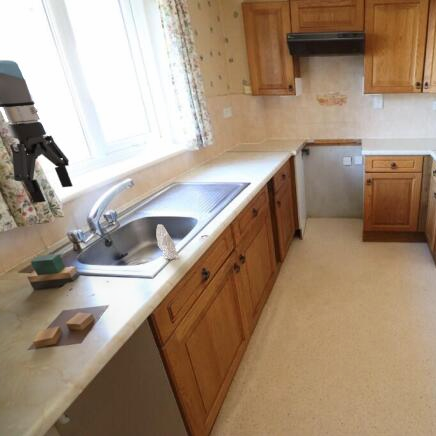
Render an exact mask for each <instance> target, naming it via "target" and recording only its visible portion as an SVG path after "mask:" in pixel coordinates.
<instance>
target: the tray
mask: <svg viewBox="0 0 436 436" xmlns="http://www.w3.org/2000/svg"><path fill="white" fill-rule="evenodd" d="M109 306H110V305H109V304H106V305H105V304H104V305H96V306H89V307H80V308H70V309H63V310H62V311H61V312H60V313H59V314H58V315H57V316H56V317H55V318H54V320H53V321H51V323H50V324H49V325H48V326H47V327H46V328H45V329H49V328H54V327H58V326H60V328H61V330H62V334H61V336H60V337H59V339H58V341H57V342H56V344H52V345H48V346H44V347H39V348H36V347H35V345H34V344H33V343H32V344H31V345H30V346H29V347H28V348H27V349H26V350H27V351H31V350H39V349H46V348H54V347H63V346H71V345H77V344H78V345H79V344H83V342H84V340H85V339H86V338H87V336H88V335H89V334H90V333H91V331H92V329H93V328H94V327H95V326H96V324H97V322H99V320H100V318H101V317H102V316H103V315H104V313H105V312H106V310H107V309H108V308H109ZM77 313H92V314H93V317H94V320H93V321H92V322H91V323H90V324H89V325H88V326H87V327H86V328H85V329H83V330H70V329H68V327H67V325H66V323H67V322H68V321H69V320H70V319H71V318H73V317H74V316H75V315H76V314H77Z"/></svg>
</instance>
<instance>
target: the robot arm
mask: <svg viewBox="0 0 436 436" xmlns="http://www.w3.org/2000/svg"><path fill="white" fill-rule="evenodd" d="M0 113H1V116H2V118H3V120H4V122H5V123H8V124H7V128H8V130H9V133H10V136H11V137H12V138H13V139H16V140H18V143H10V145H9V148H10V150H11V153H12V167H13V168H12V169H13V179H14V181H15V182H21V183H23V184H24V186H25V189H26V191H27V192H28V193H29V196H30V198H31V200H32V202H33V203H34V204H35V203H36V204H37V203H45V202H47V201H46V199H45V196H44V194H43V192H42V189H41V187H40V185H39V182H38V180H37V179H34V175H35V169H36V160H37V159H38V158H39V157H40V156H41V155H42V156H43V157H44V158H45V159H47V160H48V161H49V162H50V163H52V164H53V165H54V166H55V167H54V170H55V173H56V175H57V178H58V180H59V183H60V185H61V188H70V187H73V186H74V185H73V183H72V181H71V178H70V174H69V172H68V169H67V167H69V166H70V164H69V161H70V160H69V159H68V157H67V156H66V155H65V153H64V152H63V151H62V150H61V148H60V147H59V146H58V144H57V143H56V142H55V140H54V137H53V136H52V135H50V134H49V135H47V131H46V128H45V125H44V123H43V121H40V120H41V116H40V113H39V110H38V109H37V106H36V103H35V101H34V98H33V95H32V92H31V90H30V87H29V84H28V82H27V79H26V78H25V75H24V74H23V71H22V69H21V67H20V65H19V63H17V62H16V61H14V60H8V59H7V60H6V59H0Z"/></svg>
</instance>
